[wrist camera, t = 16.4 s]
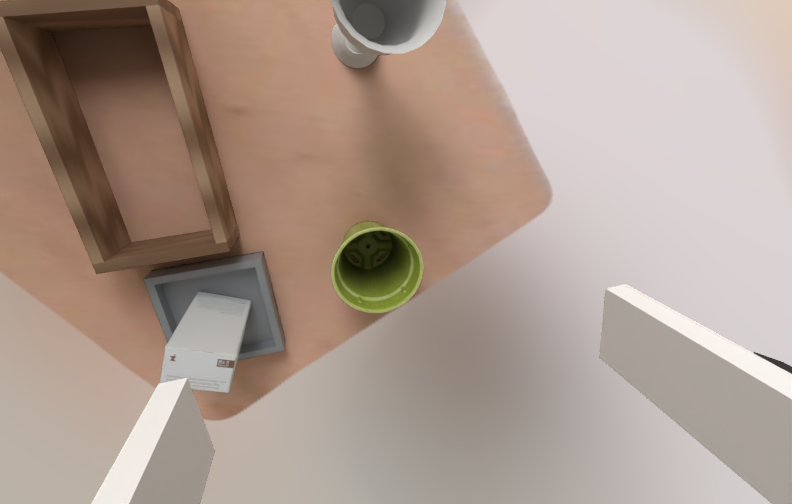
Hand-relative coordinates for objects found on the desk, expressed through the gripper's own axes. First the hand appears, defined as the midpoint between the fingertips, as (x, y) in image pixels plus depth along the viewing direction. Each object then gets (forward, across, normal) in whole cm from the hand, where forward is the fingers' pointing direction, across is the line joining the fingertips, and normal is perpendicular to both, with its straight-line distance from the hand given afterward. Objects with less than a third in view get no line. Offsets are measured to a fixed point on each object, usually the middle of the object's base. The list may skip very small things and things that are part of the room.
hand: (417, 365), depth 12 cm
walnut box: (+35, -18, +7) cm, 40 cm away
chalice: (+35, +4, +14) cm, 38 cm away
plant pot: (+35, +2, -8) cm, 36 cm away
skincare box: (+34, -16, -12) cm, 40 cm away
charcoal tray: (+35, -16, -12) cm, 40 cm away
